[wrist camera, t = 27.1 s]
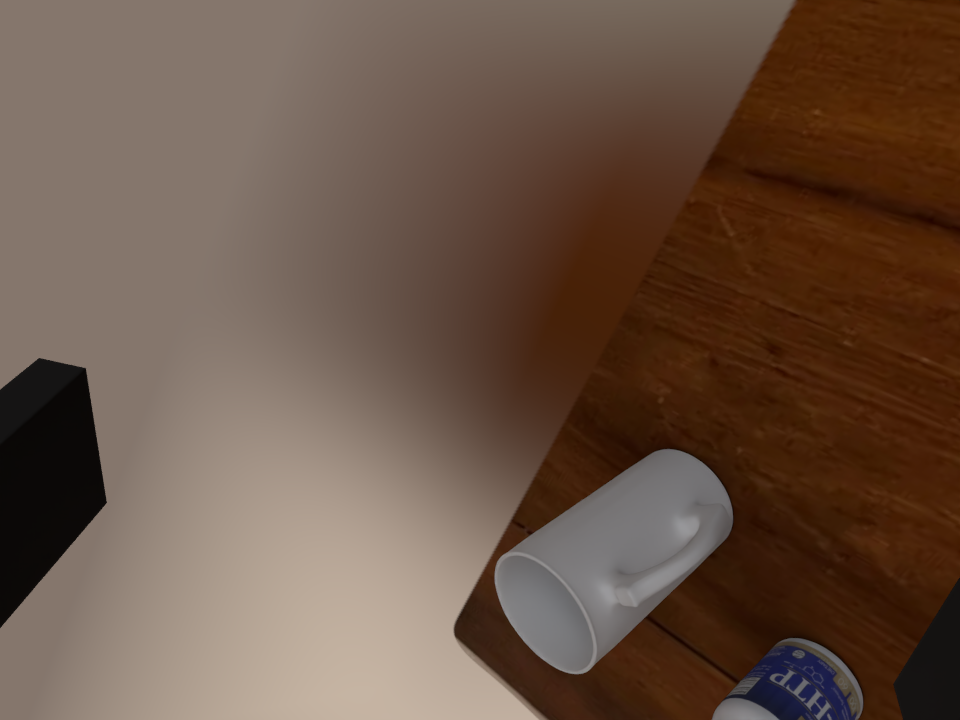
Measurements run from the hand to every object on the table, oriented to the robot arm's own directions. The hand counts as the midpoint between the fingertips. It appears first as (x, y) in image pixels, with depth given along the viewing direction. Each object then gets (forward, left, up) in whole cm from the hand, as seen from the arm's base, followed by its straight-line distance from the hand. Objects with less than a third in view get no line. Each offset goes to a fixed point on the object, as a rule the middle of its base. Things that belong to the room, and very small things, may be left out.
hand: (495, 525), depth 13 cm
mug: (+7, -24, -27) cm, 36 cm away
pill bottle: (+18, -24, -27) cm, 40 cm away
